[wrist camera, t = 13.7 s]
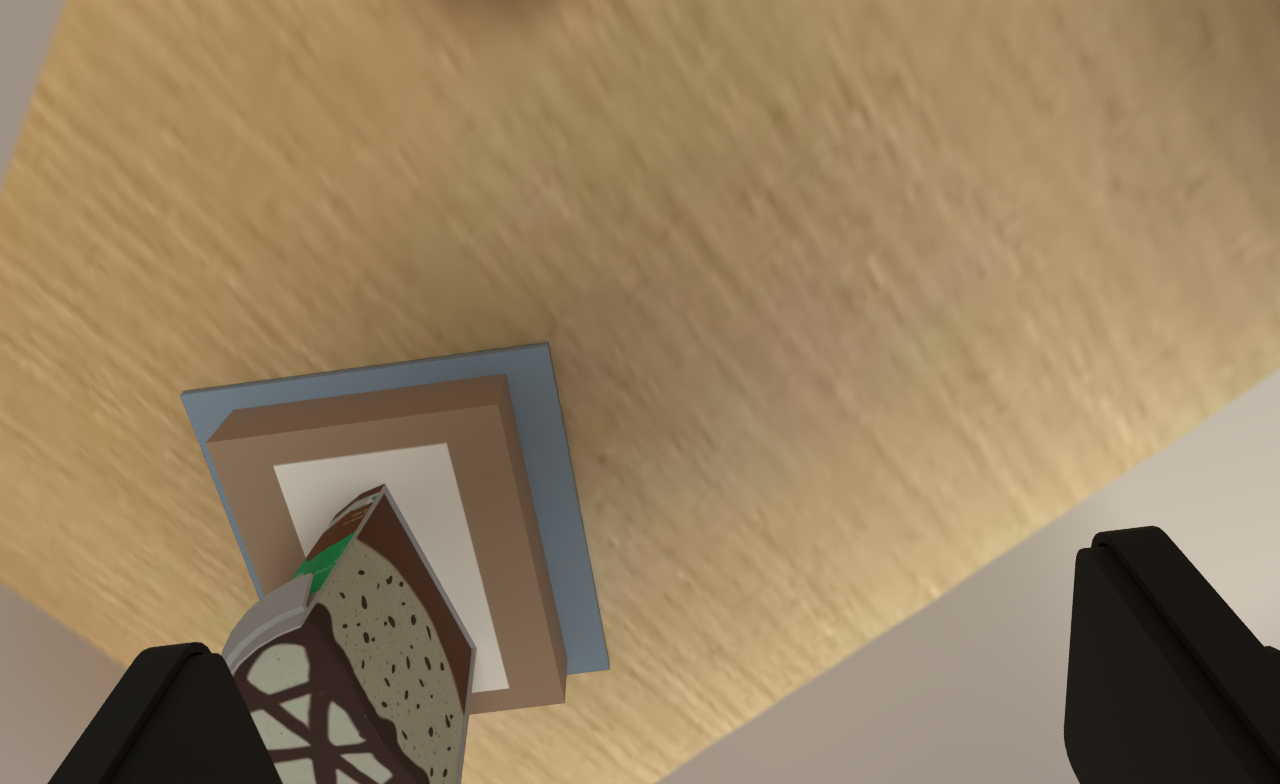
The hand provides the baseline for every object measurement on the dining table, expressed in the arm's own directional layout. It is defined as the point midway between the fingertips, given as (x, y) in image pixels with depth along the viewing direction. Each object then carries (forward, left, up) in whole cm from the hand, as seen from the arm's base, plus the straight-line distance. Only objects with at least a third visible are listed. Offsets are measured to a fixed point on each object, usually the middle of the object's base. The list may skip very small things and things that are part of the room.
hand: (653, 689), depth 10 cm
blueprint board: (+12, +16, -29) cm, 35 cm away
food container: (+14, +16, -26) cm, 33 cm away
